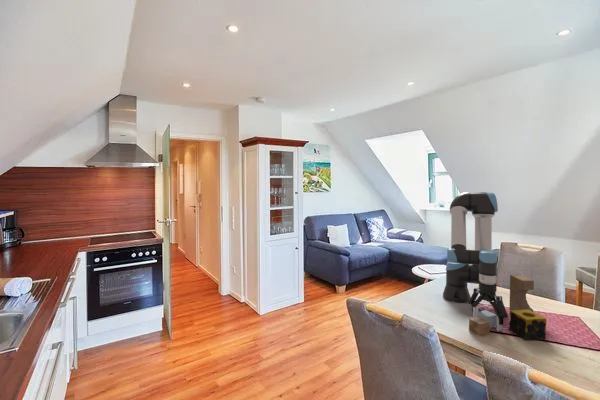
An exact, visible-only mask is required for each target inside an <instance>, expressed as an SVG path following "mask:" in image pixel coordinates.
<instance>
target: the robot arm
mask: <svg viewBox="0 0 600 400" xmlns="http://www.w3.org/2000/svg"><path fill="white" fill-rule="evenodd" d="M497 200H498V199H497V196H496V194H495V193H494V192H492V191H491V192H486V191H482V192H481V191H479V192H476V191H475V192H469V191H468V192H467V191H465V192H460V194H458V195H457V196H455V197H454V199H453V200H452V201H451V203H450V206H449V214H450V215H451V217H450V218H451V221H450V222H451V223H450V224H451V226H450V228H451V230H450V231H451V232H450V234H451V235H450V238H451V239H450V248H447V250H446V251H447V252H446V260H447V262H446V265H445V267H446V268H445V270H446V271H445V287H444V290H443V291H442V298H443V299H444V300H447V301H448V302H452V303H458V304H464V303H465V304H469V305H471V312H472V318H475V317H477V312H479V306H478V305H480V303H481V302H482V301H486V302H487V303H489V304H490V305H491V306H492V308H493V310H494V313H495V314H496V315H497V327H496V330H497V331H496V332H500V330H501V331H502V330H503V325H504V319H508V318H509V315H508V312H507V309H506V307H505V304H504V300H503V296H501V295H497V294H496V293H497V283H498V282H497V281H498V280H497V278H498V273H499V271H498V269H499V267H498V253H497V252H495V251H494V250H492V246H493V245H492V241H493V240H492V239H493V237H492V234H493V233H492V228H493V227H492V226H493V225H492V224H493V222H492V221H493V220H492V219H493V217H495V215H496V214H495V213H498V210H499V209H498V208H499V207H498V201H497ZM469 212H471V215H472V216H473V217H474V249H467V219H466V218H467V217H466V216H467V214H468V213H469ZM468 284H475V285H478V287H474V288H473V292H472V294H470V291H469V287H468ZM478 295H479V296H478Z"/></svg>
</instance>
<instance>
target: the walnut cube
mask: <svg viewBox="0 0 600 400" xmlns="http://www.w3.org/2000/svg"><path fill="white" fill-rule="evenodd" d="M490 329H491V328H490V322H489V321H487V320H485V319H482V318H480V317H475V318H473V317H471V318H468V331H469V332H470V333H472V334H474V335H476V336H478V337H484V336H487V335H490Z"/></svg>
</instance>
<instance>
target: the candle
mask: <svg viewBox="0 0 600 400" xmlns="http://www.w3.org/2000/svg"><path fill="white" fill-rule="evenodd" d="M509 316H510V319H509V323H508V325H509V326H508V331H509V330H511V331H512V332H511V331H510V332H511V333H513V334H514V333H515V334H514V335H516V336H518V337H519V338H521V339H523V340H524V341H540V340H546V329H547V328H546V327H547V318H546V317H544V316H543V315H540V314H538V313H536V312H534V310H533V311H531V310H510V309H509Z"/></svg>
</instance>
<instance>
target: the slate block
mask: <svg viewBox="0 0 600 400" xmlns="http://www.w3.org/2000/svg"><path fill="white" fill-rule="evenodd" d="M477 317H480V318H482V319H485V320H487V321H489V322H490V327H493V328H496V327H495V326H497V317H498V315H497V314H496V313H495V312H491V311H490V310H486V309H485V310H480V311H478V312H477Z"/></svg>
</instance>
